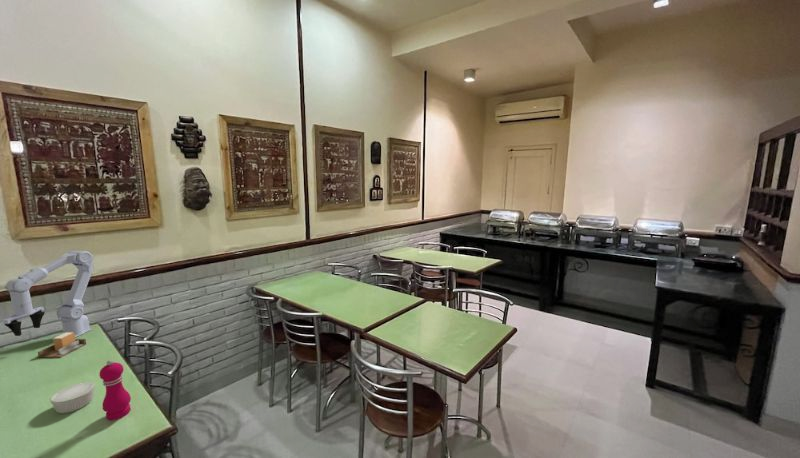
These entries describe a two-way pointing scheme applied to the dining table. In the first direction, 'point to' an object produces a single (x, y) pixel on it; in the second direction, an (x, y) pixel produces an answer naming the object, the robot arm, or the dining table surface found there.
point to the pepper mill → (114, 391)
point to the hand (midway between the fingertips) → (27, 331)
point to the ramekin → (73, 397)
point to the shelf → (63, 351)
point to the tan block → (64, 340)
